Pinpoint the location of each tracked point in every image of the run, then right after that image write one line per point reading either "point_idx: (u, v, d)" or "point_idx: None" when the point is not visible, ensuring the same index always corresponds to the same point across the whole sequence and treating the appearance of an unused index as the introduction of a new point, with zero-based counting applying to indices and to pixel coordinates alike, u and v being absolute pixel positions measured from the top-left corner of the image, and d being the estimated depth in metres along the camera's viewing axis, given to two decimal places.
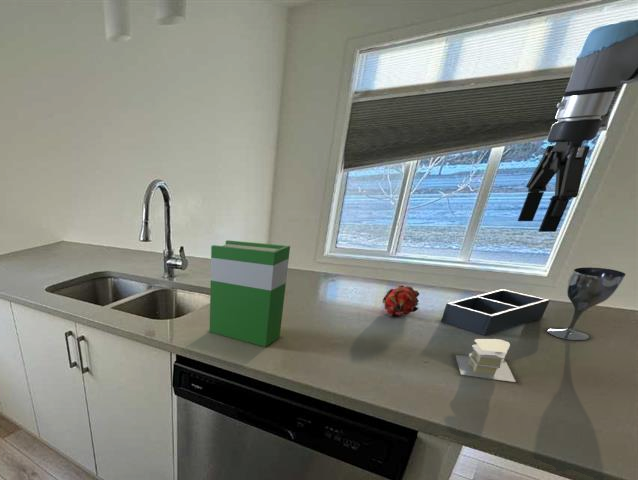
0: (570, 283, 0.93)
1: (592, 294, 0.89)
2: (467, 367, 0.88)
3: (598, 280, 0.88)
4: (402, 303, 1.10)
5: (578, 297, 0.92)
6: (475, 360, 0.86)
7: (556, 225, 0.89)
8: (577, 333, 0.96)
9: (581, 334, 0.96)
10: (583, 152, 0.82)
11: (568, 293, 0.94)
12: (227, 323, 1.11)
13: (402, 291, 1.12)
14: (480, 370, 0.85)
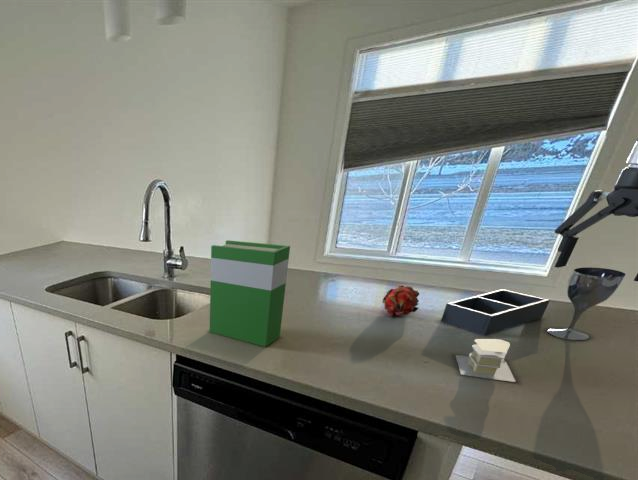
0: (570, 283, 0.93)
1: (592, 294, 0.89)
2: (467, 367, 0.88)
3: (598, 280, 0.88)
4: (402, 303, 1.10)
5: (578, 297, 0.92)
6: (475, 360, 0.86)
7: None
8: (577, 333, 0.96)
9: (581, 334, 0.96)
10: None
11: (568, 293, 0.94)
12: (227, 323, 1.11)
13: (402, 291, 1.12)
14: (480, 370, 0.85)
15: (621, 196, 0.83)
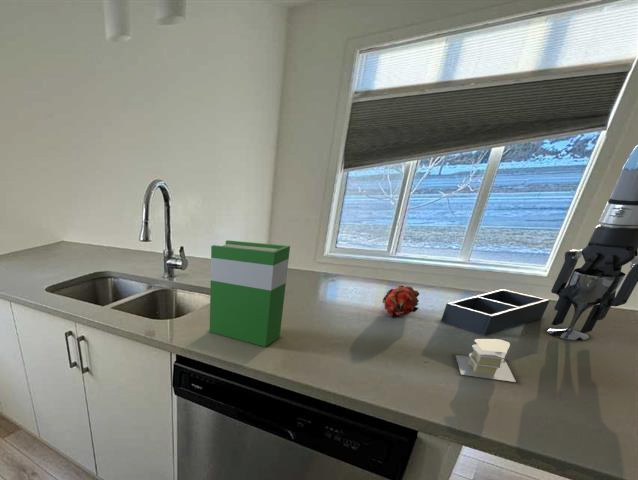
0: (570, 283, 0.93)
1: (592, 294, 0.89)
2: (467, 367, 0.88)
3: (598, 280, 0.88)
4: (402, 303, 1.10)
5: (578, 297, 0.92)
6: (475, 360, 0.86)
7: (593, 325, 0.94)
8: (577, 333, 0.96)
9: (581, 334, 0.96)
10: None
11: (568, 293, 0.94)
12: (227, 323, 1.11)
13: (402, 291, 1.12)
14: (480, 370, 0.85)
15: (595, 251, 0.89)
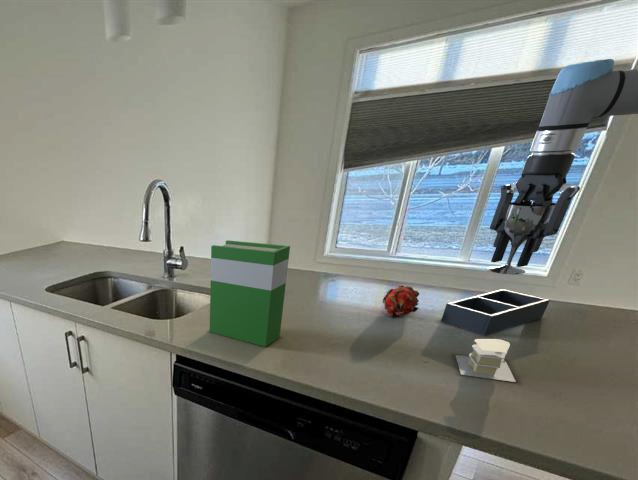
0: (505, 216, 0.93)
1: (524, 225, 0.90)
2: (467, 367, 0.88)
3: (529, 210, 0.89)
4: (402, 303, 1.10)
5: (512, 230, 0.92)
6: (475, 360, 0.86)
7: (529, 259, 0.94)
8: (514, 268, 0.97)
9: (518, 269, 0.97)
10: (574, 193, 0.84)
11: (504, 227, 0.94)
12: (227, 323, 1.11)
13: (402, 291, 1.12)
14: (480, 370, 0.85)
15: (527, 182, 0.90)
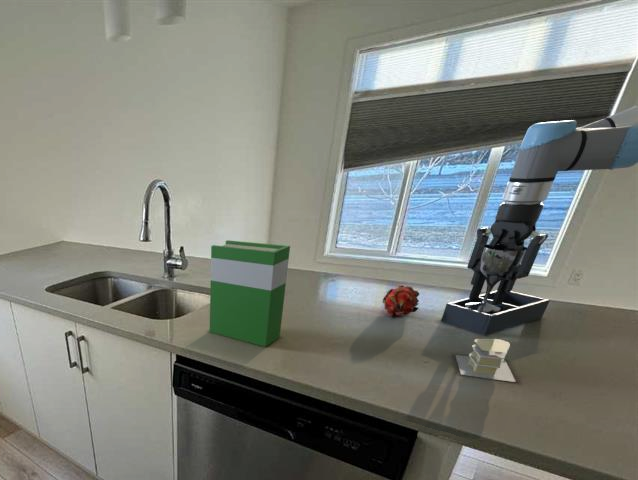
0: (481, 258, 0.99)
1: (498, 267, 0.96)
2: (467, 367, 0.88)
3: (502, 254, 0.94)
4: (402, 303, 1.10)
5: (487, 271, 0.98)
6: (475, 360, 0.86)
7: (503, 298, 1.00)
8: (490, 306, 1.02)
9: (494, 306, 1.02)
10: (543, 240, 0.90)
11: (480, 268, 1.00)
12: (227, 323, 1.11)
13: (402, 291, 1.12)
14: (480, 370, 0.85)
15: (500, 227, 0.95)
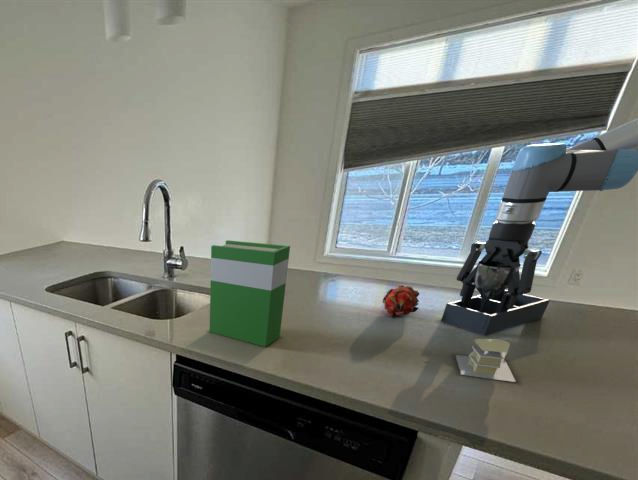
0: (475, 274, 1.01)
1: (492, 283, 0.98)
2: (467, 367, 0.88)
3: (496, 271, 0.96)
4: (402, 303, 1.10)
5: (482, 286, 1.00)
6: (475, 360, 0.86)
7: None
8: None
9: None
10: (538, 256, 0.92)
11: (474, 283, 1.02)
12: (227, 323, 1.11)
13: (402, 291, 1.12)
14: (480, 370, 0.85)
15: (494, 245, 0.97)
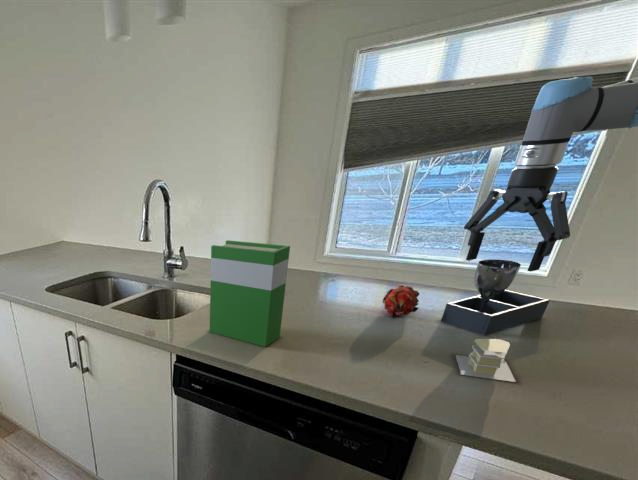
0: (475, 274, 1.01)
1: (492, 283, 0.98)
2: (467, 367, 0.88)
3: (496, 271, 0.96)
4: (402, 303, 1.10)
5: (482, 286, 1.00)
6: (475, 360, 0.86)
7: (540, 263, 0.92)
8: None
9: None
10: (564, 197, 0.85)
11: (474, 283, 1.02)
12: (227, 323, 1.11)
13: (402, 291, 1.12)
14: (480, 370, 0.85)
15: (513, 194, 0.92)
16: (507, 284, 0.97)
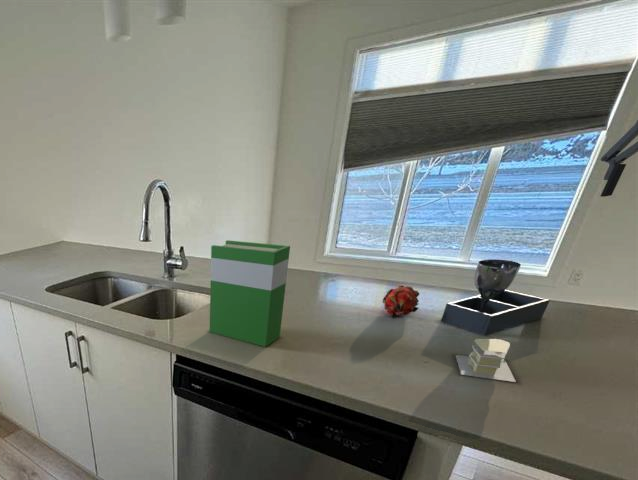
0: (475, 274, 1.01)
1: (492, 283, 0.98)
2: (467, 367, 0.88)
3: (496, 271, 0.96)
4: (402, 303, 1.10)
5: (482, 286, 1.00)
6: (475, 360, 0.86)
7: None
8: None
9: None
10: None
11: (474, 283, 1.02)
12: (227, 323, 1.11)
13: (402, 291, 1.12)
14: (480, 370, 0.85)
15: None
16: (507, 284, 0.97)
